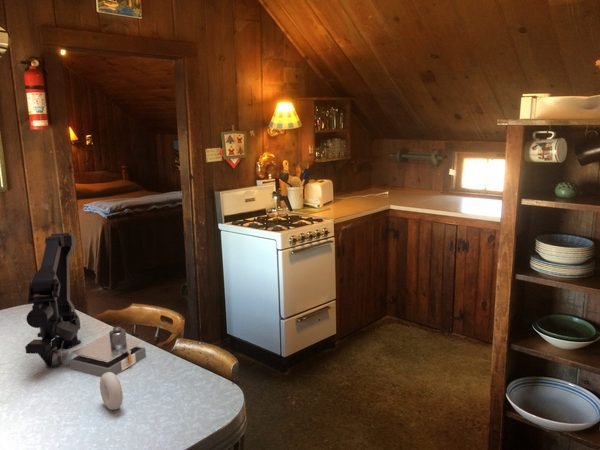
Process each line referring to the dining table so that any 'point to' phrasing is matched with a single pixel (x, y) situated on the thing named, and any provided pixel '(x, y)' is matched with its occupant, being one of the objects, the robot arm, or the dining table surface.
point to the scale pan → (105, 349)
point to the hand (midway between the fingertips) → (54, 362)
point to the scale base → (82, 365)
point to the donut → (111, 390)
